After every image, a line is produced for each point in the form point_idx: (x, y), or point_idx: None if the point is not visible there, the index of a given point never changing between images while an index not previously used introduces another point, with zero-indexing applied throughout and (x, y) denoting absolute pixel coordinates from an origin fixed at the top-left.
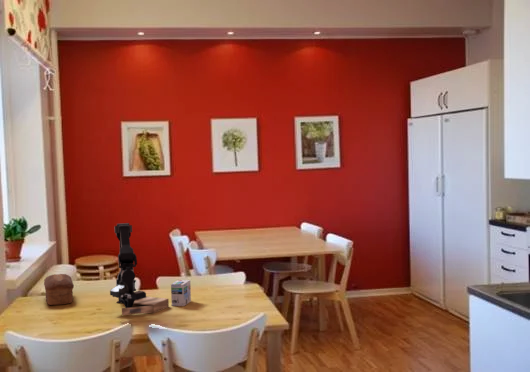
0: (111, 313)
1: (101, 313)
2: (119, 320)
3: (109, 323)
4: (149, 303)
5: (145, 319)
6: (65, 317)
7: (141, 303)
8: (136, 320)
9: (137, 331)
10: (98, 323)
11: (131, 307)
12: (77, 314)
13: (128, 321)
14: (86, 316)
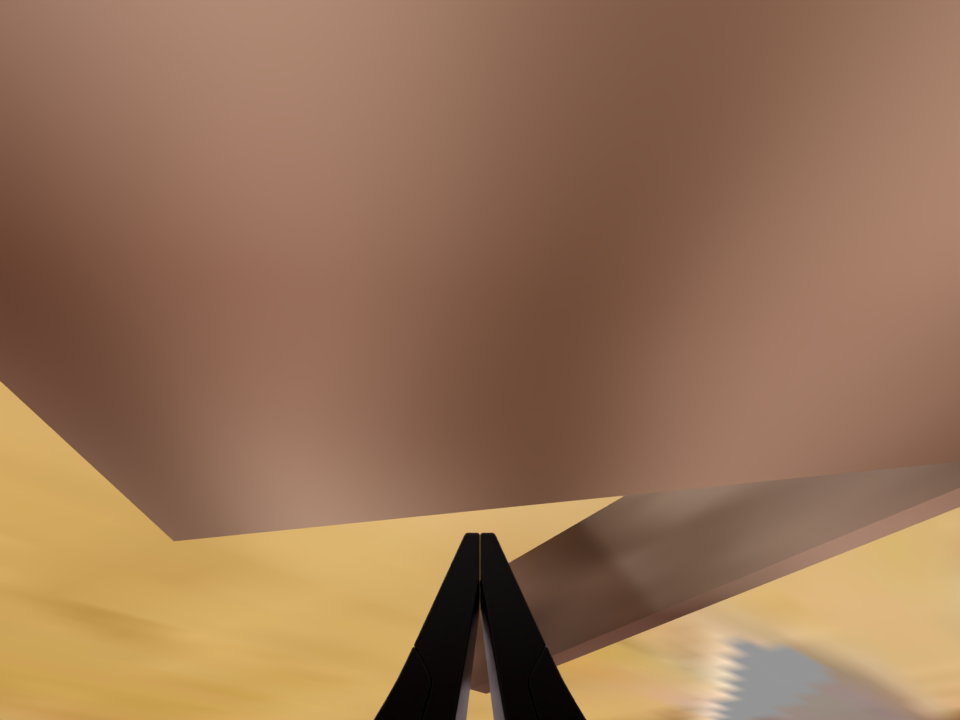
0: (251, 564)
1: (162, 598)
2: None
3: (575, 684)
4: (948, 418)
5: (899, 546)
6: (106, 710)
7: (621, 486)
8: (788, 593)
9: (949, 696)
10: (490, 701)
11: (587, 642)
12: (49, 668)
13: (712, 627)
14: (189, 668)
